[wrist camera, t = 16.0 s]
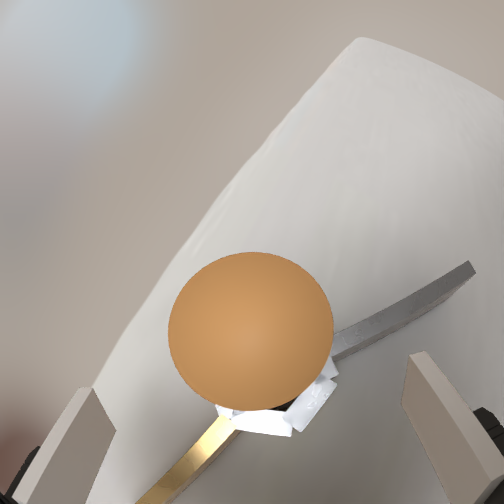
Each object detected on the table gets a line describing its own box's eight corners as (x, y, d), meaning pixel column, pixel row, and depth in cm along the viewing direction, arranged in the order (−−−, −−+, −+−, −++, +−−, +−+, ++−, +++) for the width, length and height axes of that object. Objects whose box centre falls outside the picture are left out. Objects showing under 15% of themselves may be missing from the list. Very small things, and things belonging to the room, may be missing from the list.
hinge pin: (312, 374, 23) (364, 308, 8) (278, 418, 21) (261, 445, 6) (268, 343, 24) (238, 226, 9) (233, 385, 23) (138, 337, 8)
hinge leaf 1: (342, 365, 23) (359, 352, 17) (180, 542, 16) (154, 569, 11) (268, 314, 25) (263, 287, 20) (115, 485, 19) (76, 496, 14)
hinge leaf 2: (247, 444, 20) (235, 455, 15) (211, 351, 24) (190, 333, 19) (461, 333, 22) (497, 312, 17) (419, 258, 26) (443, 223, 21)
